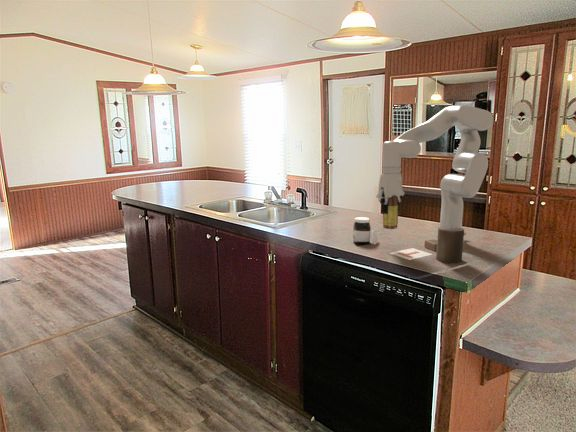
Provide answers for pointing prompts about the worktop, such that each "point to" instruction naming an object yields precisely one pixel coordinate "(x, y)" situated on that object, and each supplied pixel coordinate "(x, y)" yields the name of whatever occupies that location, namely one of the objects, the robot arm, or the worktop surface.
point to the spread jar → (363, 232)
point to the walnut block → (431, 244)
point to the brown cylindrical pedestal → (450, 244)
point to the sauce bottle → (391, 213)
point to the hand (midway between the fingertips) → (390, 211)
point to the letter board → (411, 253)
